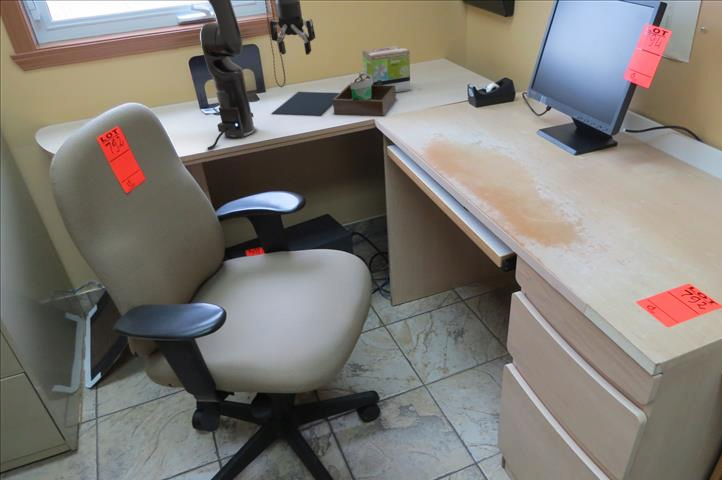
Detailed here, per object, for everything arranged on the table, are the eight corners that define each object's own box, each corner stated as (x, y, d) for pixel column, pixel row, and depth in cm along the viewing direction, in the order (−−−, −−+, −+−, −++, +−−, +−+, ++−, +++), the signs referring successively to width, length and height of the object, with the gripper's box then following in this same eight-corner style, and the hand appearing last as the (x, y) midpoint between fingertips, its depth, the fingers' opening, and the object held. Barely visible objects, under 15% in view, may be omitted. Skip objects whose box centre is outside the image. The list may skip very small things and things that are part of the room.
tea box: (374, 97, 204) (371, 55, 196) (364, 90, 212) (361, 49, 204) (411, 90, 209) (409, 49, 201) (400, 83, 217) (398, 44, 208)
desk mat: (320, 115, 190) (320, 114, 190) (272, 114, 194) (272, 112, 194) (342, 94, 209) (342, 93, 209) (298, 92, 213) (298, 91, 213)
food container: (370, 112, 190) (367, 83, 185) (352, 112, 192) (350, 83, 186) (378, 101, 200) (376, 72, 195) (361, 100, 202) (359, 72, 196)
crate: (383, 116, 187) (382, 101, 184) (334, 114, 191) (332, 99, 188) (396, 99, 201) (395, 85, 198) (349, 98, 205) (348, 84, 202)
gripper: (261, 3, 171) (271, 57, 181) (304, 2, 168) (312, 57, 178) (271, -2, 177) (280, 50, 187) (312, -3, 174) (320, 50, 184)
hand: (295, 53), depth 182 cm, fingers open, 8 cm apart
